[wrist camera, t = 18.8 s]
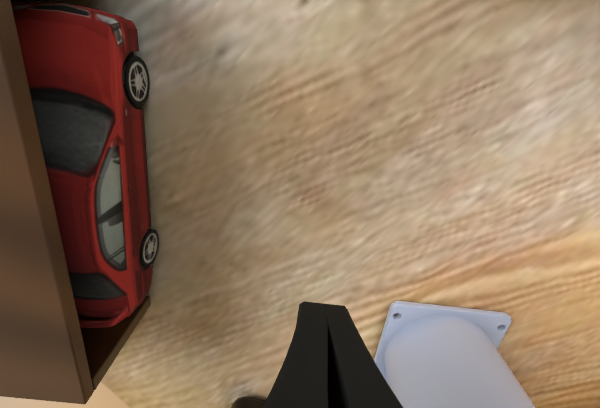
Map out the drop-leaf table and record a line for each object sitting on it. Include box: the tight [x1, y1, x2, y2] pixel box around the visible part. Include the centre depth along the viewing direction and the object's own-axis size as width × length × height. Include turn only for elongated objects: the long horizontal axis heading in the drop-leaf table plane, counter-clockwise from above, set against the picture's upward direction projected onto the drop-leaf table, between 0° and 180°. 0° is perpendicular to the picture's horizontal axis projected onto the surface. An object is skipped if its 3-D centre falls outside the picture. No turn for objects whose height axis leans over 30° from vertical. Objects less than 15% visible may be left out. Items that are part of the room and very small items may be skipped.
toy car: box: [12, 2, 159, 328], centre depth 15 cm, size 6×15×5 cm, turn 169°
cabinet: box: [0, 0, 150, 404], centre depth 14 cm, size 20×8×7 cm, turn 173°
